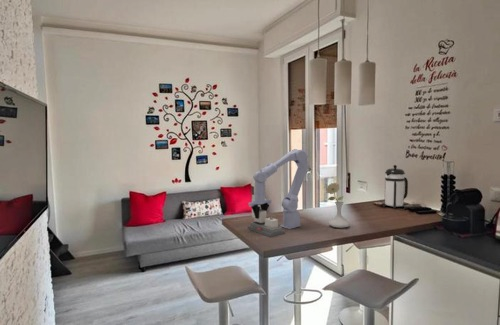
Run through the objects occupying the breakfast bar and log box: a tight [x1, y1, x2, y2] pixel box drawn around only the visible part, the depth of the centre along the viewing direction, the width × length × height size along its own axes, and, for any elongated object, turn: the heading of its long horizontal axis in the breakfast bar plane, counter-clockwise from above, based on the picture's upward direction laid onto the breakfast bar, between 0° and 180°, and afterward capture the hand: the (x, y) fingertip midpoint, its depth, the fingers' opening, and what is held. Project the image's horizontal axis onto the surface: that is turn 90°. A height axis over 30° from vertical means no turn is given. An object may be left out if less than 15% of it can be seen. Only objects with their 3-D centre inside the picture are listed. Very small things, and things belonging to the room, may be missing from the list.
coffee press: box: [382, 164, 409, 210], centre depth 229 cm, size 17×16×30 cm
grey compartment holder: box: [247, 216, 286, 238], centre depth 175 cm, size 10×19×8 cm, turn 38°
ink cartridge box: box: [251, 194, 268, 219], centre depth 204 cm, size 9×5×15 cm, turn 68°
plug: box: [253, 208, 267, 223], centre depth 179 cm, size 4×6×7 cm, turn 38°
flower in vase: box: [325, 182, 350, 229], centre depth 182 cm, size 13×11×25 cm
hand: (260, 217), depth 179 cm, fingers closed on plug, 4 cm apart
